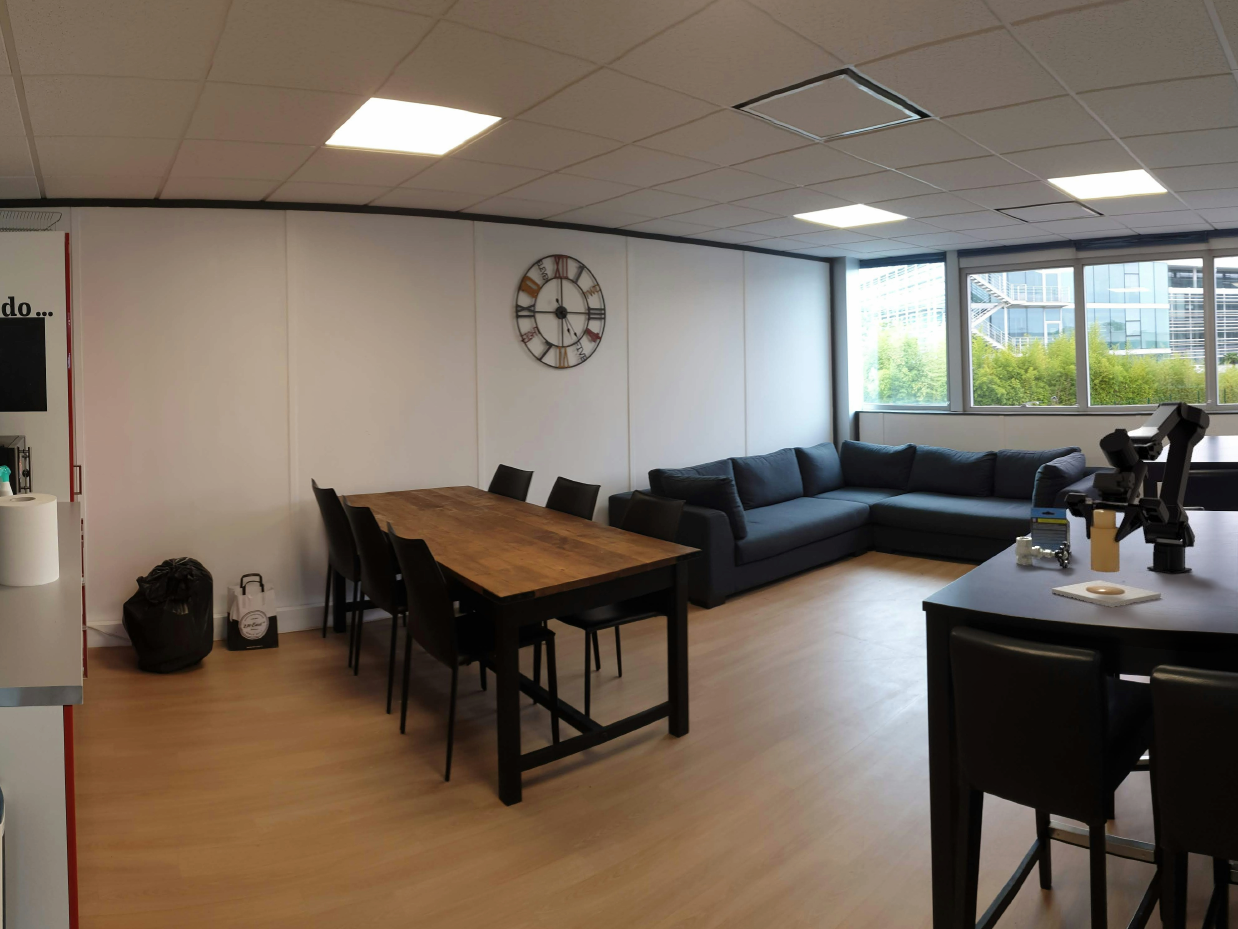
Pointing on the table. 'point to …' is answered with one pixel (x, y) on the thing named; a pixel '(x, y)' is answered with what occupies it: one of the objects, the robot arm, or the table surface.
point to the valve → (1040, 552)
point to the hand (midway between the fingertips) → (1101, 539)
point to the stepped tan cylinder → (1104, 542)
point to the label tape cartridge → (1049, 528)
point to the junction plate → (1106, 593)
